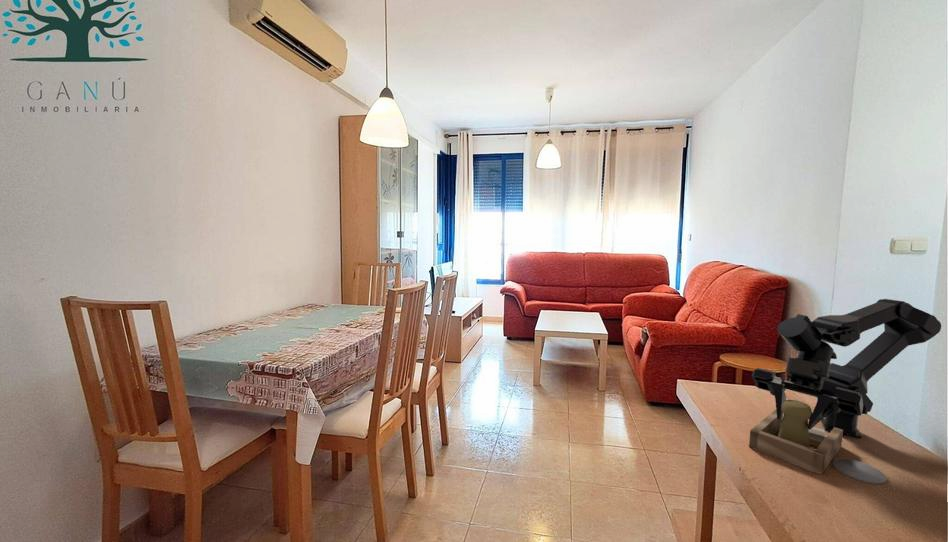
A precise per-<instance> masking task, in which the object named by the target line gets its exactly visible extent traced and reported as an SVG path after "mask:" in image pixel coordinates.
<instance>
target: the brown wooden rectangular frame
mask: <svg viewBox="0 0 948 542" xmlns="http://www.w3.org/2000/svg"><path fill="white" fill-rule="evenodd" d="M783 416H784V414H782V417H781V419H780V420H779V419H778V418H777V412H776V409H774V410H773V411H772V412H770V414H768V415H767V416H766V417H765V418H764V419H762V420H761V421H760V422H759V423H757V424H756V425H754V426H753V427H752V428H751V429H750V432H749V442H748V443H749V444H748V447H749V448H751V449H753V450H756V451H759V452H761V453H763V454H766V455H768V456H771V457H773V458H774V457H775V458H776V459H779V460H782V461H784V462H787V463H790V464H792V465H795V466H797V467H800V468H803V469H805V470H808V471H810V472H812V471H813V473H815V472H816V473H815V474H817V475H820V474H822V475H823V473H824V472H825V470H826V469H827V468H828V466H829V465H830V464H831V462H833V461H832V460H833V459H834V458H835V456H836V455H837V454H838V452H839V450H840V449H841V448H842V445H843V444H842V443H843V435H844V434H843V430H842V429H839V428H835V427H834V428H833V429H832V430H831V431H829V433H828V434H827V435H826V436H825V437H826V438H825V439H824V440H823V441H822V443H821V444H820V445H819V446H818V447H816V449H814V448H811V447H810V448H808V447H805V446H802V445H800V444H797V443H794V442H791V441H788V440H785V439H782V438H780V437H778V435H777V436H776V435H775V434H776V433H777V432H779V430H780V427H781V423H782V419H783Z"/></svg>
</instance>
